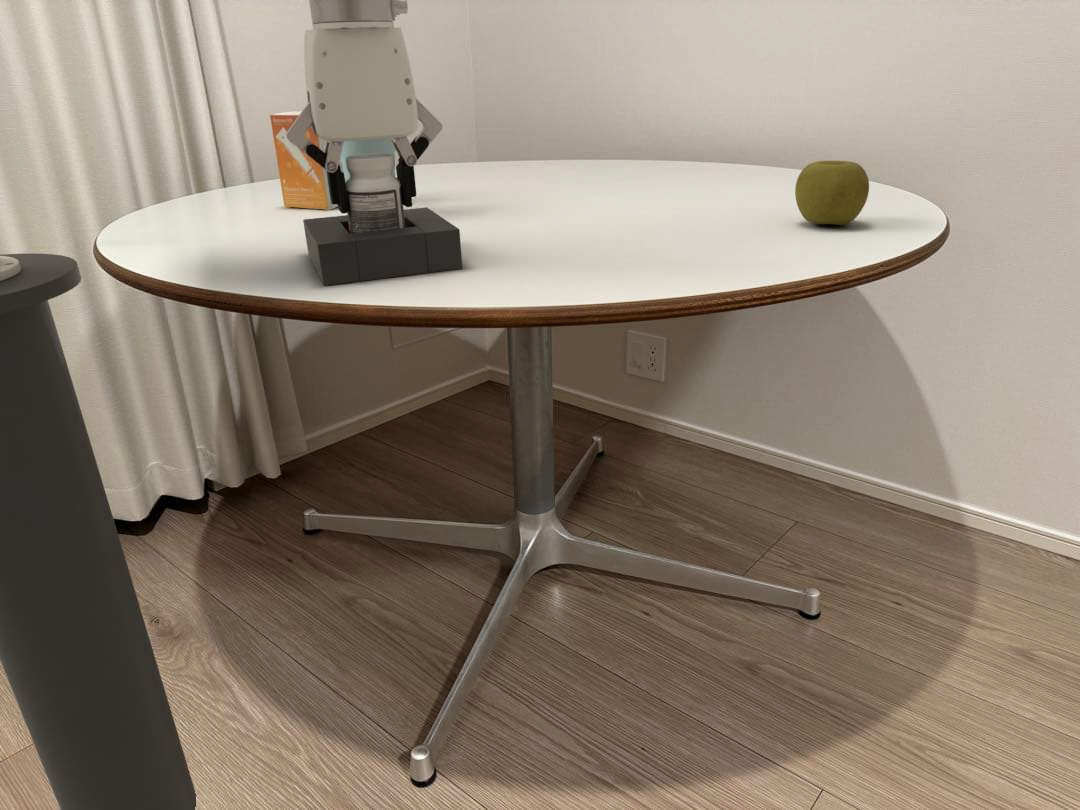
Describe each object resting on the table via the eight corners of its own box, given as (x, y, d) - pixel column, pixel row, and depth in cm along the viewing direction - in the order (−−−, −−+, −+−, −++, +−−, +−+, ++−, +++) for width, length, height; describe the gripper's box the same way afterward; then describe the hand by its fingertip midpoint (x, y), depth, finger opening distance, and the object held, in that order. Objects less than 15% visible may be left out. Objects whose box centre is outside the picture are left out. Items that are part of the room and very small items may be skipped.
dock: (323, 286, 75) (317, 244, 74) (308, 255, 87) (302, 219, 86) (462, 268, 80) (459, 228, 78) (430, 242, 92) (427, 207, 90)
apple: (791, 218, 97) (797, 157, 94) (861, 219, 95) (869, 157, 92) (792, 231, 90) (798, 166, 87) (866, 232, 88) (875, 166, 85)
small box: (283, 208, 116) (267, 114, 111) (310, 200, 121) (297, 110, 116) (328, 210, 113) (315, 113, 108) (354, 202, 118) (342, 110, 113)
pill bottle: (364, 247, 86) (353, 152, 82) (415, 247, 85) (405, 152, 81) (344, 260, 81) (330, 159, 77) (397, 260, 80) (386, 159, 76)
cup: (335, 220, 106) (324, 138, 101) (363, 210, 112) (354, 132, 108) (385, 222, 103) (377, 138, 99) (412, 211, 110) (404, 132, 106)
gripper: (432, 13, 80) (446, 195, 87) (254, 16, 74) (285, 210, 82) (451, 8, 73) (465, 205, 81) (257, 12, 68) (292, 223, 75)
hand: (374, 206), depth 81 cm, fingers closed on pill bottle, 5 cm apart
